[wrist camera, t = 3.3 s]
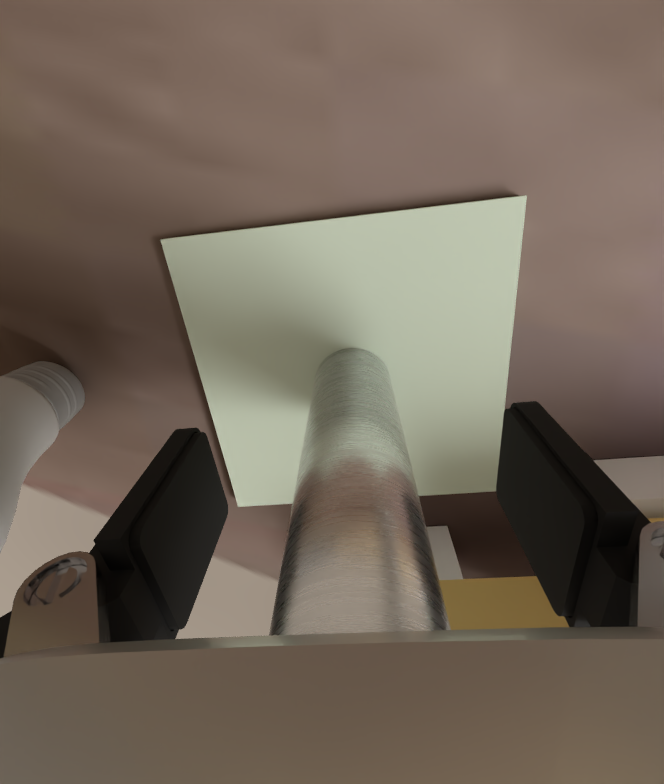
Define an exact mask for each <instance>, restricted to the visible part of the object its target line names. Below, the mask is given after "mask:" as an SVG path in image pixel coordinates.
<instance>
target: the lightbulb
mask: <svg viewBox="0 0 664 784" xmlns="http://www.w3.org/2000/svg"><path fill="white" fill-rule="evenodd" d="M84 401H85V394H84V390H83V387H82V385H81V383H80V381H79V380H78V378H77V377H76V376H75V375H74V374H73V373H72V372H71V371H69V370H68V369H66V368H65V367H63V366H61V365H58V364H55V363H52V362H47V361H39V362H34V363H31V364H29V365H26V366H23V367H21V368H19V369H17V370H14V371H11V372H10V373H8V374H5V375H2V376H0V552H1V550H2V548H3V546H4V544H5V542H6V539H7V536H8V533H9V530H10V527H11V524H12V521H13V518H14V515H15V512H16V508H17V503H18V499H19V494H20V489H21V486H22V484H23V481H24V479H25V477H26V475H27V473H28V471H29V470H30V469H31V467H32V466H33V465H34V463H35V462H36V461H37V459H38V458H39V457H40V456H41V455H42V454H43V453H44V452H45V451H46V450H47V449H48V448H49V447H50V446H51V445H52V444H53V443H54V441H55V439H56V437H57V435H58V432H59V430H60V429H61V428H63V427H64V426H65V425H66V424H67V423H68V422H69V421H70V420H71V419H72V418H73V417H74V416H75V415H76V414H77V413H78V412H79V411H80V410H81V409H82V407H83V405H84Z"/></svg>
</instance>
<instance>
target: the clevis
mask: <svg viewBox="0 0 664 784" xmlns="http://www.w3.org/2000/svg"><path fill="white" fill-rule="evenodd" d="M593 461H594V462H595V463H596V464H597V465H598V466H599V467H600V468H601V469H602V470H603V472H604V473H605V474H606V475H607V476H608V477H609V478H610V479H611V480H612V481H613V482H614V483H615V484H616V485H617V487H618V488H619V489H620V490H621V491H622V492H623V493H624V494H625V495H626V496H627V497H628V498H629V499H630V500H631V502H632V503H633V504H634V505H635V506H636V507H637V508H638V509H639V510H640V511H641V512H642V513H643V514H644V515H645V516H646V518H647V519H648V520H649V521H650V522H651V523H653V522H657V521H664V456H652V457H636V458H621V459H605V460H593ZM426 528H427V532H428V536H429V540H430V545H431V549H432V553H433V557H434V561H435V565H436V570H437V574H438V578H439V582H440V586H441V590H442V595H443V599H444V603H445V607H446V611H447V615H448V619H449V624H450V628H451V630H471V629H509V628H548V627H569V625H568V623H567V621H566V619H565V617H564V616H558V615H557V614H556V613H555V612H554V610H553V608H552V606H551V604H550V602H549V600H548V598H547V596H546V594H545V592H544V590H543V588H542V586H541V584H540V582H539V580H538V578H537V576H527V577H503V578H479V579H463V576H462V573H461V569H460V566H459V563H458V560H457V556H456V553H455V550H454V546H453V543H452V540H451V537H450V533H449V530H448V527H447V526H432V527H426Z"/></svg>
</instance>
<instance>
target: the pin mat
mask: <svg viewBox="0 0 664 784" xmlns="http://www.w3.org/2000/svg"><path fill="white" fill-rule="evenodd" d="M526 199H527V196H514V197H505V198H497V199H489V200H481V201H472V202H464V203H456V204H447V205H439V206H431V207H422V208H414V209H406V210H398V211H389V212H381V213H373V214H364V215H356V216H348V217H340V218H331V219H323V220H315V221H306V222H298V223H290V224H282V225H273V226H265V227H257V228H248V229H240V230H232V231H224V232H215V233H207V234H199V235H190V236H182V237H174V238H166V239H162V240H160V241H161V244H162V247H163V251H164V254H165V258H166V261H167V264H168V268H169V271H170V275H171V278H172V282H173V285H174V288H175V292H176V295H177V299H178V302H179V306H180V309H181V312H182V316H183V319H184V323H185V326H186V330H187V333H188V336H189V340H190V343H191V347H192V350H193V354H194V357H195V360H196V364H197V367H198V371H199V374H200V378H201V381H202V384H203V388H204V391H205V395H206V398H207V401H208V405H209V408H210V412H211V415H212V419H213V422H214V425H215V429H216V432H217V436H218V439H219V443H220V446H221V449H222V453H223V456H224V460H225V463H226V467H227V470H228V473H229V477H230V480H231V484H232V487H233V491H234V494H235V497H236V501H237V504H238V507H243V506H260V505H277V504H293V498H294V492H295V487H296V481H297V476H298V470H299V464H300V459H301V453H302V448H303V442H304V436H305V431H306V425H307V419H308V414H309V408H310V403H311V397H312V391H313V386H314V380H315V375H316V372H317V369H318V367H319V366H320V364H321V363H322V361H323V360H324V359H325V358H327V357H328V356H329V355H331V354H332V353H334V352H336V351H339V350H342V349H347V348H359V349H364V350H367V351H369V352H371V353H373V354H375V355H376V356H378V357H379V358H380V359H381V360H382V361H383V362H384V364H385V365H386V367H387V369H388V371H389V374H390V378H391V383H392V387H393V391H394V395H395V399H396V403H397V407H398V412H399V416H400V420H401V424H402V428H403V432H404V437H405V441H406V445H407V449H408V453H409V457H410V462H411V466H412V470H413V474H414V478H415V482H416V486H417V491H418V495H419V496H427V495H443V494H460V493H477V492H493V491H496V484H497V474H498V464H499V455H500V445H501V436H502V426H503V416H504V410H505V400H506V390H507V381H508V371H509V362H510V352H511V342H512V333H513V323H514V314H515V304H516V294H517V285H518V275H519V266H520V256H521V247H522V237H523V227H524V218H525V208H526Z"/></svg>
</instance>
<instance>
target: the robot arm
mask: <svg viewBox="0 0 664 784" xmlns="http://www.w3.org/2000/svg"><path fill="white" fill-rule="evenodd" d="M496 492H497V497H498V500H499V502H500V504H501V506H502V508H503V510H504V512H505V514H506V516H507V518H508V520H509V522H510V524H511V526H512V528H513V530H514V532H515V534H516V536H517V538H518V540H519V542H520V544H521V546H522V548H523V550H524V552H525V554H526V556H527V558H528V560H529V562H530V564H531V566H532V568H533V570H534V572H535V574H536V576H537V578H538V580H539V582H540V584H541V586H542V588H543V590H544V592H545V594H546V596H547V598H548V600H549V602H550V604H551V606H552V608H553V610H554V612H555V613H556V614H557V615H558V616H564V617H565V619H566V621H567V623H568V625H569V627H548V628H509V629H471V630H433V631H398V632H366V633H334V634H303V635H273V636H247V637H219V638H193V639H175V638H176V635H177V633H178V630H179V629H183V628H184V627H185V626H186V624H187V621H188V619H189V616H190V613H191V611H192V608H193V605H194V603H195V600H196V598H197V595H198V592H199V589H200V587H201V584H202V582H203V579H204V576H205V574H206V571H207V568H208V566H209V563H210V560H211V558H212V555H213V552H214V550H215V547H216V544H217V542H218V539H219V536H220V534H221V531H222V528H223V526H224V523H225V521H226V518H227V514H228V504H227V500H226V497H225V494H224V490H223V487H222V484H221V481H220V477H219V474H218V471H217V468H216V464H215V461H214V458H213V455H212V451H211V448H210V445H209V441H208V438H207V436H206V434H205V433H204V432H200V430H199V429H198V428H187V429H177V430H175V431H174V432H173V434H172V435H171V436H170V438H169V439H168V440H167V442H166V443H165V444H164V446H163V447H162V448H161V450H160V451H159V453H158V454H157V455H156V457H155V458H154V459H153V461H152V462H151V463H150V465H149V466H148V467H147V469H146V470H145V471H144V473H143V474H142V476H141V477H140V478H139V480H138V481H137V482H136V484H135V485H134V486H133V488H132V489H131V490H130V492H129V493H128V494H127V496H126V497H125V499H124V500H123V501H122V503H121V504H120V505H119V507H118V508H117V509H116V511H115V512H114V513H113V515H112V516H111V517H110V519H109V520H108V522H107V523H106V524H105V526H104V527H103V528H102V530H101V531H100V532H99V534H98V535H97V537H96V538H95V539H94V542H95V546H94V547H93V549H92V550H91V551H90V553H88V552H81V551H79V552H71V553H67V554H64V555H61V556H58V557H56V558H54V559H52V560H51V561H49V562H47V563H45V564H44V565H42V566H41V567H39V568H38V569H37V570H35V571H34V572H33V573H32V574H31V575H30V576H29V577H28V578H27V579H26V580H25V581H24V582H23V583H22V585H21V586H20V588H19V589H18V590H17V593H16V595H15V598H14V601H13V607H12V611H11V612H9V613H7V614H6V615H4V616H2V617H0V784H664V521H657V522H653V523H651V522H650V521H649V520H648V519H647V518H646V516H645V515H644V514H643V513H642V512H641V511H640V510H639V509H638V508H637V507H636V506H635V505H634V504H633V503H632V502H631V500H630V499H629V498H628V497H627V496H626V495H625V494H624V493H623V492H622V491H621V490H620V489H619V488H618V487H617V485H616V484H615V483H614V482H613V481H612V480H611V479H610V478H609V477H608V476H607V475H606V474H605V473H604V472H603V470H602V469H601V468H600V467H599V466H598V465H597V464H596V463H595V462H594V461H593V460H592V459H591V458H590V457H589V455H588V454H587V453H586V452H584V451H583V450H582V449H581V448H580V447H579V446H578V445H577V444H576V443H575V442H574V440H573V439H572V438H571V437H570V436H569V435H568V434H567V433H566V432H565V431H564V430H563V429H562V428H561V427H560V425H559V424H558V423H557V422H556V421H555V420H554V419H553V418H552V417H551V416H550V415H549V414H548V413H547V411H546V410H545V409H544V408H543V407H542V406H541V405H540V404H539V403H538V402H536V401H533V402H520V403H513V404H512V405H511V408H510V409H506V410H505V411H504V416H503V426H502V436H501V445H500V455H499V464H498V474H497V484H496Z"/></svg>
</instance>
